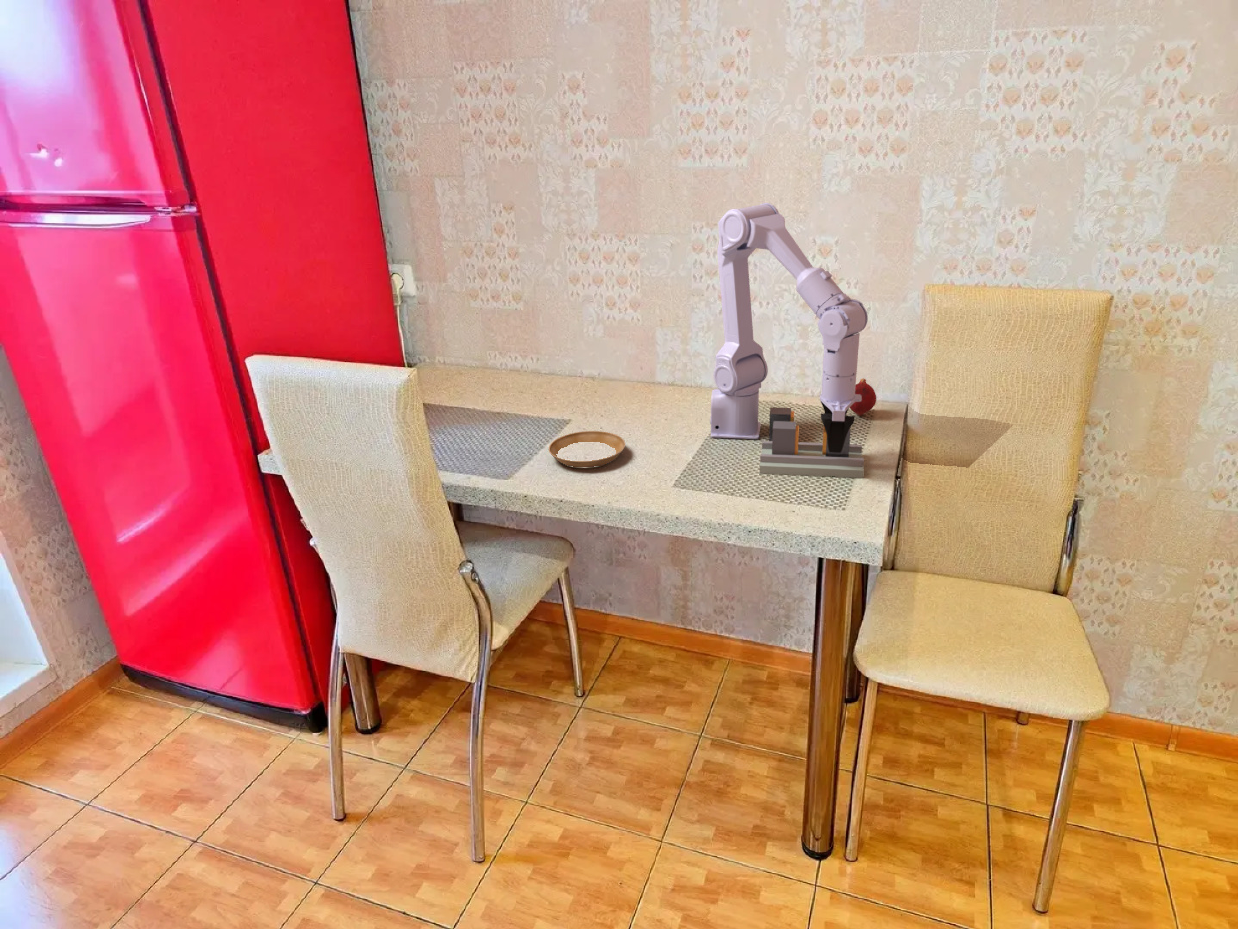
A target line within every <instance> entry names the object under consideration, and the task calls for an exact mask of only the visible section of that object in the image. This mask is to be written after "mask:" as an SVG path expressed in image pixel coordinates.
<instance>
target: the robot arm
mask: <svg viewBox="0 0 1238 929" xmlns="http://www.w3.org/2000/svg"><path fill="white" fill-rule="evenodd" d="M717 225H718V238H719V241H718V246H717V262H718V265H717V266H718V275H719V288H720V300H721V311H722V322H723V335H724V344H723V345H722V346H721V348H720V349H719V350H718V352H717V353H716V355H715V367H714V370H713V379H714V384H715V386H716V387H717V388H715V389H712V391H711V396H710V403H711V404H710V420H709V421H710V422H709V423H710V437H711V438H714V439H715V438H717V439H719V438H720V439H739V440H740V439H743V440H745V439H747V440H758V439H759V438H760V432H761V426H762V423H761V422H759V404H760V403H759V401H760V399H759V397H760V389H761V388H762V382H764V381H765V379H766V378H767V376H768V374H769V373H768V370H769V368H768V364H767V361H766V359H765V357H764V352H763V351H764V349H763V347H762V345H760V344H759V343H757V342H756V341H755V340H754V328H753V316H752V300H751V288H750V284H751V283H750V274H749V257H750V256H751V254H752V253H754V251H755V250H756V249H760V250H767V251H769V252H770V253H771V255H773V257H775V259H776V260H777V261H778V262H779V263H780V264H781V265H782V266H783V267H784V268H785V269H786V270H787V271H788V272H789V273H790V275H791V276H792V277H793V278H794V279H795V280H796V288H795V289H796V292H797V293H798V295H799V296H800V297H801V299H802V300H803V301H804V302H805V303H806V304H807V306H808V307H809V308H810V310H811V311H812V312H813V313H814V314H815V316H816V317H817V318H818V319H819V320H817V326H818V327H817V328H818V330H819V332H820V334H821V336H822V345H823V361H822V373H821V374H822V376H821V390H820V392H821V393H820V395H819V400H820V404H821V406H822V407H823V411H824V413H823V412H821V413H820V419H821V423H822V424H823V426H824V427H825V430H826V434H827V443H828V449H829V452H836V453H841V451H842V449H843V446H844V442H845V439H846V435H847V433H848V431H849V429H850V428H851V427H852V426H853V425H854V423H855V421H856V420H855V415H847V413H848V412H849V410H850V406H851V405H852V404H853V403H854V402H861V400H862V397H861V395H860V394H855V386H856V384H857V374H858V373H857V372H858V360H859V359H858V358H859V349H860V348H859V345H860V332H862V331H863V330H864V329H865V328H866V327H867V325H868V319H869V317H868V312H867V310H866V308H865V306H864V304H863V302H861V301H860V300H858V299H853V298H850V297H849V295H847V294H846V293H844V292H843V290H842V289H841V288H840V287H839V286H838V284H837V283H836V282H835V281H834V280H833V279H832V276H833V275H832V274H831V273H830V271H829V270H825V269H824V268H821V267H815V266H813V265H812V264H811V262H810V260H809V259H808V258H807V256H806V255H805V254H804V252H803V251H802V249H801V248H800V246H799V245H798V244H797V242H796V240H795V239H794V238H793V236H792V235H791V234H790V232H789V231H788V229H787V228H786V221H785V217H784V216H783V215H782V214H781V213H780V212H779V211H778V209H777V207H776V206H775V205H774V204H772V203H770V202H763V203H761V204H757V205H752V206H746V207H740V208H730V209H729V210H728V211H726V212H725V213H724V215H723V216H722V217H721V218H720V220H719V221H717Z"/></svg>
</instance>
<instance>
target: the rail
mask: <svg viewBox="0 0 1238 929" xmlns="http://www.w3.org/2000/svg"><path fill="white" fill-rule="evenodd" d="M799 436H800V425H797V422H796V421H794V422H786V421H774V422H773V438H772V441H769V440H762V441H761V452H760V455H759V456H760V457H759V458H760V459H759V474H770V475H771V474H772V475H787V476H810V477H811V476H812V477H828V476H831V477H832V476H835V477H834V478H850V477H851V479H852V478H853V479H855V478H856V479H863V478H864V471H865V470H864V462H865V460H864V458H863V454H862V452H863V451H862V450H863V446H862V445H863V444H854V443H853V444H852V443H850V447H849V458H845V457H825V455H822V442H802V441H801V442H799ZM832 478H833V477H832Z"/></svg>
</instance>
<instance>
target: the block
mask: <svg viewBox="0 0 1238 929" xmlns="http://www.w3.org/2000/svg"><path fill="white" fill-rule="evenodd" d="M774 421H786V422H795V410H794V411H793V410H792V407H777V406H776V407H773V406H772V407H770V408H769V422H768V423H769V425H768V426H769V428H768V441H772V438H773V422H774Z"/></svg>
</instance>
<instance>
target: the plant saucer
mask: <svg viewBox="0 0 1238 929" xmlns="http://www.w3.org/2000/svg"><path fill="white" fill-rule="evenodd" d="M578 442H600V443H605V444H607V445H609V446H610V447H612V448H615V450H616V454H615V455H612V456H610V457H607V458H603V459H599V460H592V461H570V460H565V459H561V458H558V457H557V455H556V454H558V451H559V450H560V449H561V448H564V447H567V446H568V445H570V444H573V443H578ZM625 447H626V442H625V440H624V438H623V437H621V436H620V435H617V434H616V433H612V432H608V431H601V430H600V431H599V430H585V431H577V432H572V433H567V434H565V435H563V436H560V437H558V438H556V439H554V440H553V441H552V442H551V443H550V444H549V445H548V452H549V453H550V455H551V456H553V458H554V459H555V460H557V461H558V462H559V463H561V464H562V463H563V465H564V464H565V465H564V466H566V465H568V466H567V467H569V466H573V467H594V466H600V467H603V466H606V465H608V464H610V463H612V462H613V461H614V460H616V459H617V458H618V457H619V456H620V455H621V453H622V452H623V450H624V449H625ZM611 461H612V462H611ZM609 462H610V463H609ZM607 463H608V464H607ZM605 464H606V465H605ZM602 465H603V466H602ZM573 467H572V468H573Z"/></svg>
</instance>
